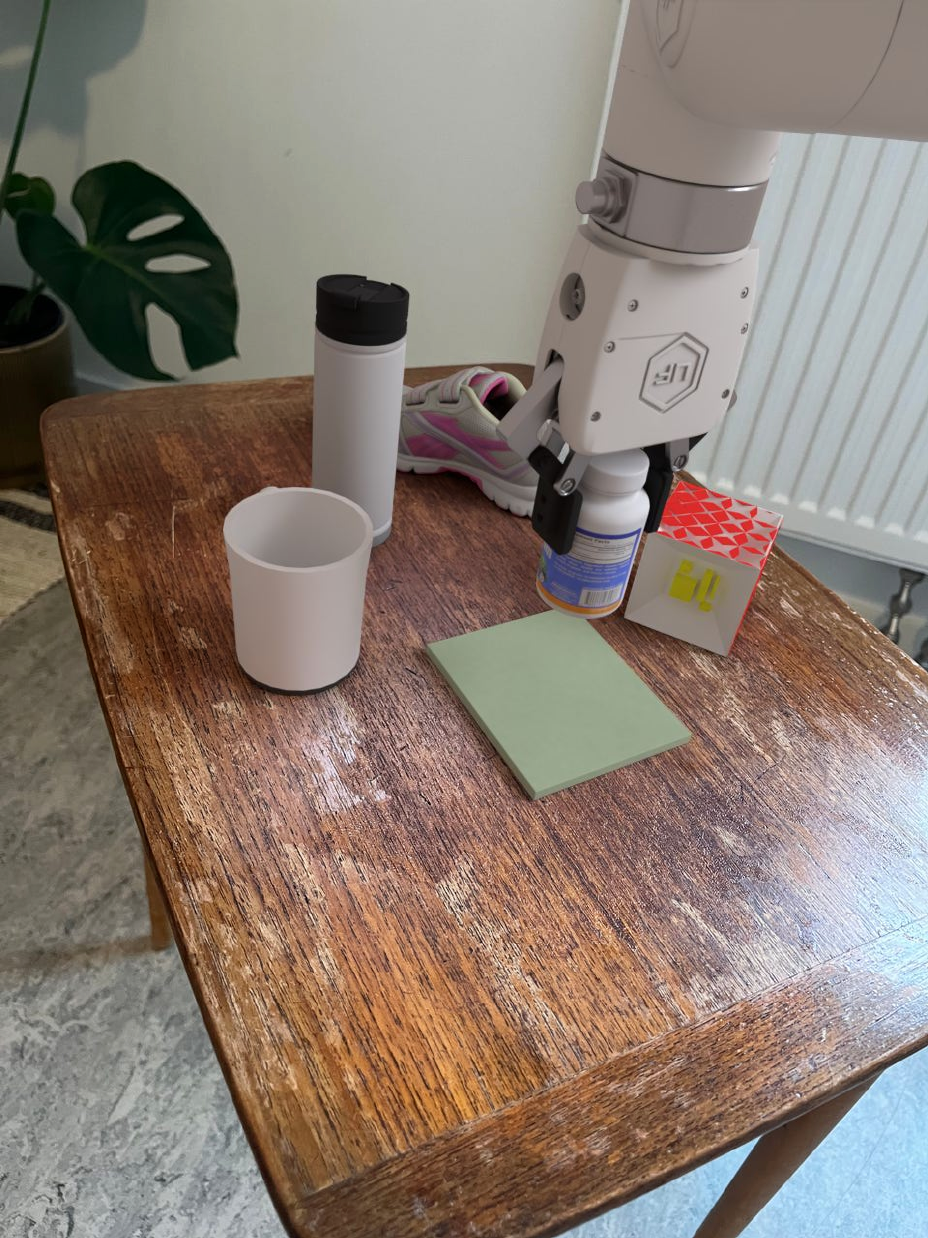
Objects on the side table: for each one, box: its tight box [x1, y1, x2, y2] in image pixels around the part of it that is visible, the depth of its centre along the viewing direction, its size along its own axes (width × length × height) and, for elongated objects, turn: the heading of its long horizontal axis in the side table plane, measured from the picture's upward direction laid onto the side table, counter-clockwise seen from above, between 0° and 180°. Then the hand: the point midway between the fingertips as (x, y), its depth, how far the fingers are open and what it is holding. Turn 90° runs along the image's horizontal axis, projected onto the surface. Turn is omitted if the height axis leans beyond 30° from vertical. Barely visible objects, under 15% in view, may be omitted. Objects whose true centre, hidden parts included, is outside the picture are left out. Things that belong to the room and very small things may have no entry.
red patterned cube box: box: [623, 480, 785, 658], centre depth 71 cm, size 8×8×8 cm
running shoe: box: [396, 365, 570, 519], centre depth 82 cm, size 9×22×10 cm, turn 64°
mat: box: [425, 609, 692, 801], centre depth 64 cm, size 14×12×1 cm
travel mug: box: [311, 273, 411, 549], centre depth 69 cm, size 6×7×20 cm
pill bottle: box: [535, 448, 649, 620], centre depth 55 cm, size 5×5×10 cm
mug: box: [222, 486, 373, 696], centre depth 62 cm, size 11×9×10 cm
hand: (594, 527), depth 55 cm, fingers closed on pill bottle, 5 cm apart
